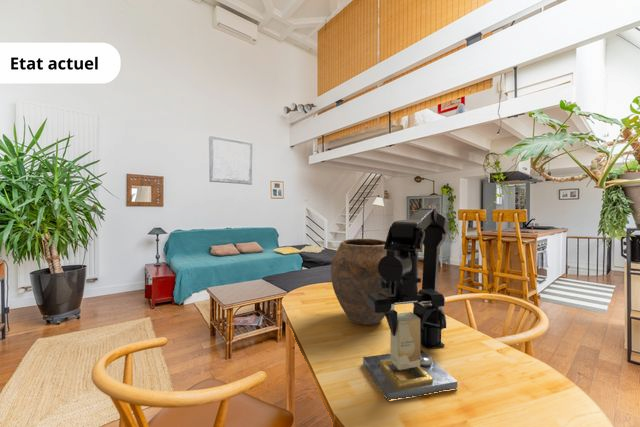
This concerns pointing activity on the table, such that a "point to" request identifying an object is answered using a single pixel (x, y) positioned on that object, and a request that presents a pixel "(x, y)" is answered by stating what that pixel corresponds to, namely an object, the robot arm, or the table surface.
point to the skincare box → (406, 341)
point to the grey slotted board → (425, 382)
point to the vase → (358, 278)
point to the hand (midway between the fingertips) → (405, 333)
